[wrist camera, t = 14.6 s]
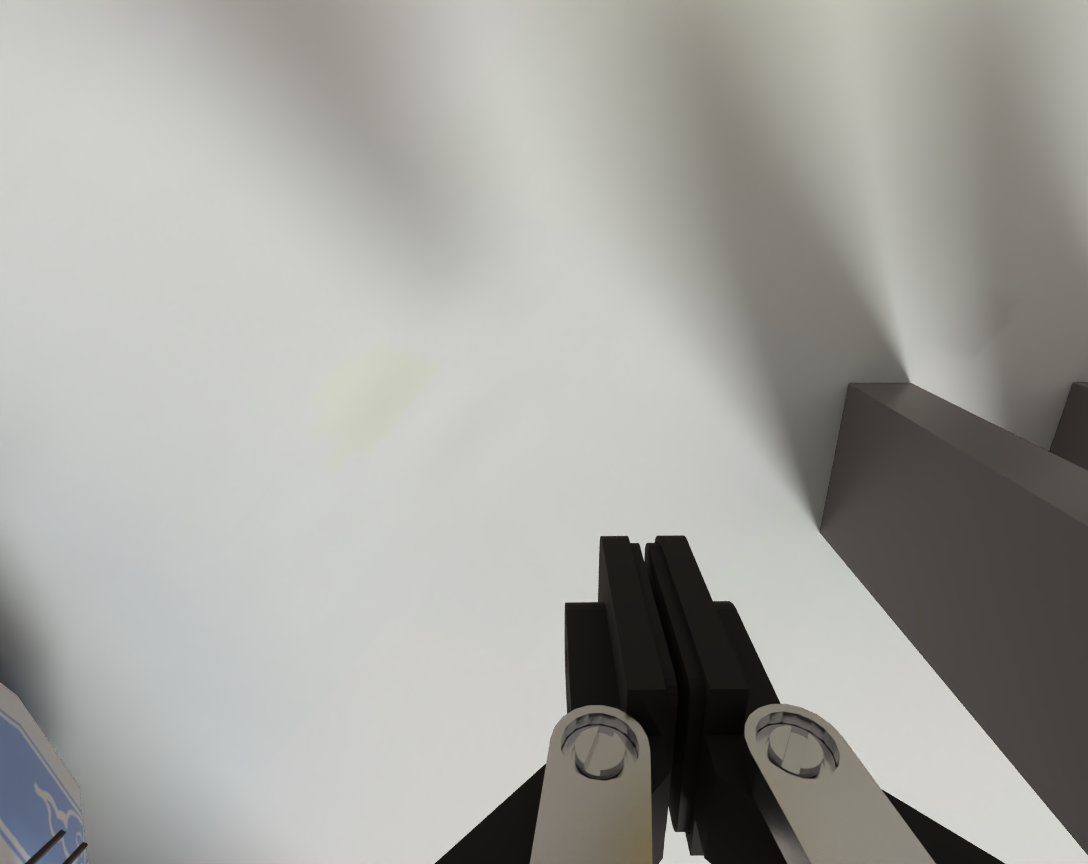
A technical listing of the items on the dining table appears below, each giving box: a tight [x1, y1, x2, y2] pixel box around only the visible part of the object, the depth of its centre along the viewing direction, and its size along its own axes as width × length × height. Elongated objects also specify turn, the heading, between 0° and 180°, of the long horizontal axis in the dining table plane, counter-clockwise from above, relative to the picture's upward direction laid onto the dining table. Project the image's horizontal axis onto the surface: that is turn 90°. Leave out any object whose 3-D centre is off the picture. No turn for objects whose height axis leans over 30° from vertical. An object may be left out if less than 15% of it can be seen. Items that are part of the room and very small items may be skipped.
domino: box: [820, 383, 1088, 855], centre depth 13 cm, size 2×5×10 cm, turn 0°
